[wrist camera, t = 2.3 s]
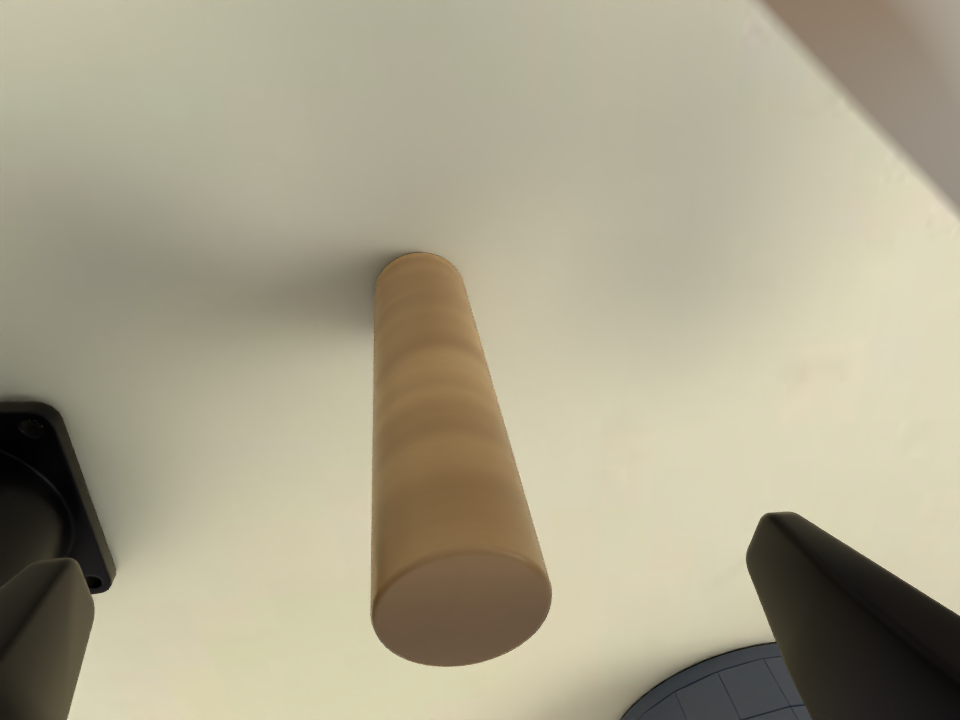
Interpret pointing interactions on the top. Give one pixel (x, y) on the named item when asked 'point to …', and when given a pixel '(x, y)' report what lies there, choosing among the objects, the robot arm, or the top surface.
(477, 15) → the top surface
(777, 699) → the bowl
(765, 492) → the top surface
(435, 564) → the stick
